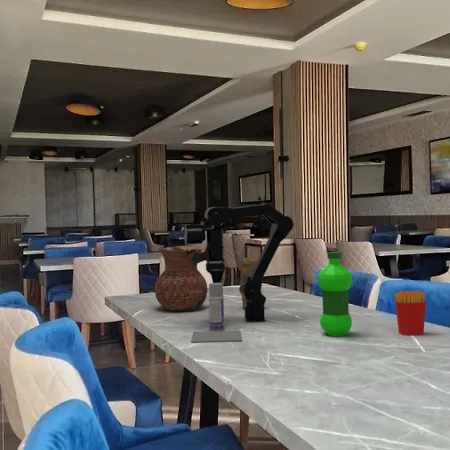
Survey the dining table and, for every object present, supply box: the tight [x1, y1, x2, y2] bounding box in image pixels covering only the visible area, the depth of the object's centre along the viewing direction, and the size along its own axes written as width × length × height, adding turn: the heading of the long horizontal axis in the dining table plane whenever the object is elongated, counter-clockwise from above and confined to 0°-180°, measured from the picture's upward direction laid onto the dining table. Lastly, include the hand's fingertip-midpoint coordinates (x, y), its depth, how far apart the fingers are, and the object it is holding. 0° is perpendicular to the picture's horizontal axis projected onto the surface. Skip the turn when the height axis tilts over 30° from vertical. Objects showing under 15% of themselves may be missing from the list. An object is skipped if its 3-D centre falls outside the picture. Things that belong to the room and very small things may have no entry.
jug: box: [154, 245, 209, 312], centre depth 212 cm, size 22×21×25 cm
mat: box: [190, 329, 243, 344], centre depth 161 cm, size 15×13×1 cm
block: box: [240, 256, 262, 310], centre depth 209 cm, size 11×8×20 cm
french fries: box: [393, 289, 427, 336], centre depth 159 cm, size 9×4×13 cm, turn 92°
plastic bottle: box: [317, 251, 353, 337], centre depth 160 cm, size 10×10×25 cm
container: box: [208, 282, 225, 331], centre depth 171 cm, size 5×5×15 cm
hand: (216, 288), depth 182 cm, fingers open, 7 cm apart
